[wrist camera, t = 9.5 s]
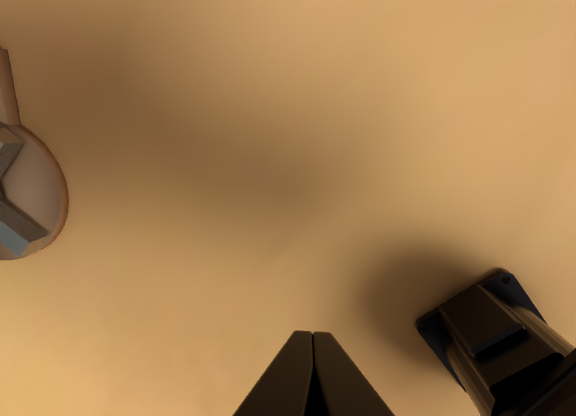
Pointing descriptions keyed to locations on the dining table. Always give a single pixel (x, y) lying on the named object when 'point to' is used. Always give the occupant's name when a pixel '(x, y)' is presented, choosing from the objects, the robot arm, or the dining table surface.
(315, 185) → the dining table surface
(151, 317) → the dining table surface
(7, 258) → the stand
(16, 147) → the turnstile
